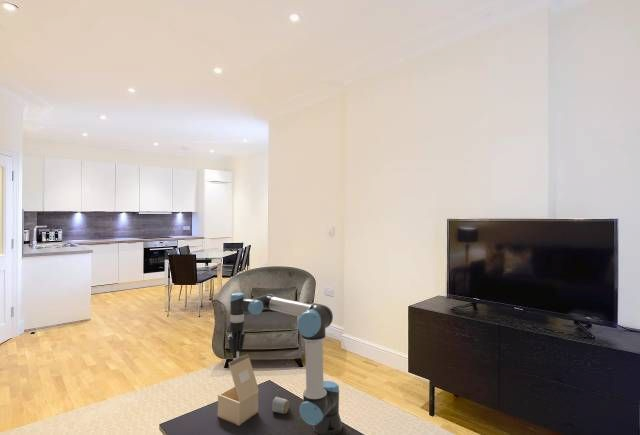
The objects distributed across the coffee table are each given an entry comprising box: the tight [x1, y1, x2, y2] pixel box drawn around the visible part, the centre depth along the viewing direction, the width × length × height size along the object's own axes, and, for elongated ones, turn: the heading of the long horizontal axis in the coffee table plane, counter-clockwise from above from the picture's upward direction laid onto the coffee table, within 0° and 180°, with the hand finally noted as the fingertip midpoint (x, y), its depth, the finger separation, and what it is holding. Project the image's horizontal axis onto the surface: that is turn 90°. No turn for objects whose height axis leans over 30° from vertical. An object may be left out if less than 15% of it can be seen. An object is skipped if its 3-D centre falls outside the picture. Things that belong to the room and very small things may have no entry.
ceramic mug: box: [271, 396, 290, 414], centre depth 200 cm, size 11×8×8 cm
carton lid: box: [228, 353, 260, 403], centre depth 194 cm, size 21×15×1 cm
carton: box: [217, 385, 259, 426], centre depth 196 cm, size 16×15×12 cm
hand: (236, 363), depth 197 cm, fingers closed
